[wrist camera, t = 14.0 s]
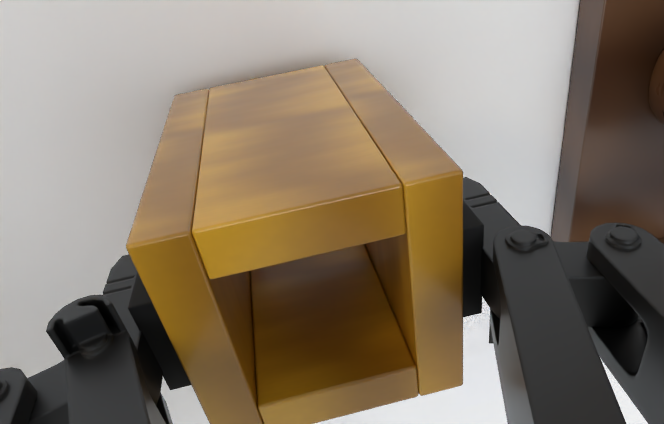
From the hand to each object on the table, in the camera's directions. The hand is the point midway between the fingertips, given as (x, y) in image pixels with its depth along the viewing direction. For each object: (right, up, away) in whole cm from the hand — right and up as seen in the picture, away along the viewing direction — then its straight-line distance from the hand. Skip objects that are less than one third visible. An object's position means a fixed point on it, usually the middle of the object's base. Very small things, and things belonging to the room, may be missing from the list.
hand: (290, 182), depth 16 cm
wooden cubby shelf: (0, +1, +2) cm, 2 cm away
